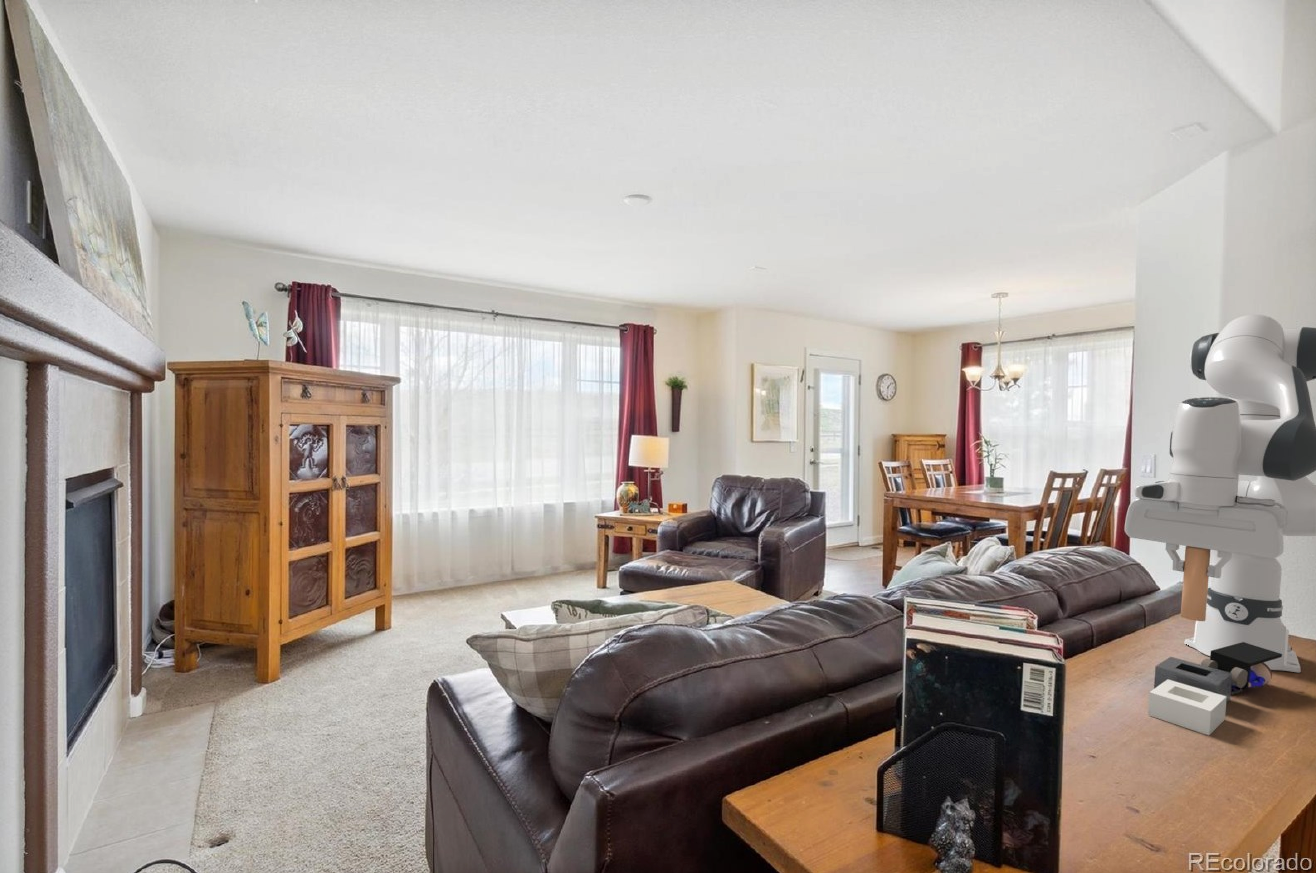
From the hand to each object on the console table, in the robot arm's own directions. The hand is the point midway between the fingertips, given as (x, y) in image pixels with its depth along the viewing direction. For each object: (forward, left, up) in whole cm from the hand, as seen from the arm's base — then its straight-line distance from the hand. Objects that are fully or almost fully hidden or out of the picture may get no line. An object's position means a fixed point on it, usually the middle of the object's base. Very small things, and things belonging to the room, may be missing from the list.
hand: (1196, 573), depth 105 cm
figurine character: (-26, +2, -25) cm, 36 cm away
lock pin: (0, 0, -8) cm, 8 cm away
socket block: (0, 0, -25) cm, 25 cm away
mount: (-12, -2, -25) cm, 28 cm away
